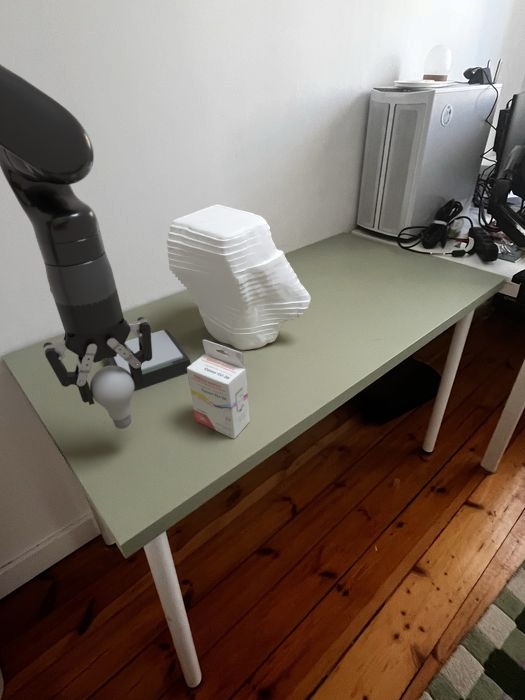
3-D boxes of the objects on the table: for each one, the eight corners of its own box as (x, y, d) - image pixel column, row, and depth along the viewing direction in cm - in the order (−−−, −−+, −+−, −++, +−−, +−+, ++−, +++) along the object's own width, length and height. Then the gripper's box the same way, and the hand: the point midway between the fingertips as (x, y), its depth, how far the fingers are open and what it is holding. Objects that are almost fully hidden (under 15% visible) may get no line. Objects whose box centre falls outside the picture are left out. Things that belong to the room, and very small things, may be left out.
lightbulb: (136, 408, 71) (122, 352, 65) (149, 430, 66) (135, 372, 60) (99, 423, 68) (80, 366, 62) (110, 446, 64) (91, 388, 58)
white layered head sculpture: (240, 300, 112) (231, 199, 98) (314, 341, 94) (316, 224, 80) (168, 329, 102) (146, 220, 87) (235, 382, 84) (222, 255, 69)
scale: (123, 395, 82) (118, 380, 80) (106, 359, 92) (102, 345, 90) (192, 371, 87) (189, 356, 85) (169, 340, 98) (166, 326, 96)
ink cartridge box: (194, 422, 75) (181, 352, 67) (212, 405, 78) (201, 336, 70) (234, 440, 71) (226, 367, 62) (251, 422, 74) (245, 351, 66)
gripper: (25, 317, 49) (67, 426, 58) (149, 286, 55) (170, 390, 64) (20, 292, 54) (59, 396, 64) (133, 267, 60) (154, 365, 69)
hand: (114, 393), depth 64 cm, fingers closed on lightbulb, 6 cm apart
